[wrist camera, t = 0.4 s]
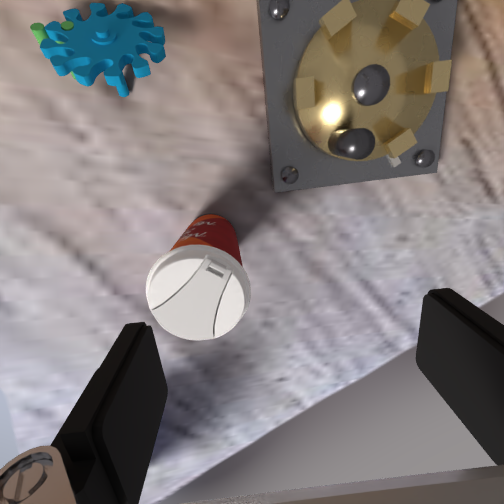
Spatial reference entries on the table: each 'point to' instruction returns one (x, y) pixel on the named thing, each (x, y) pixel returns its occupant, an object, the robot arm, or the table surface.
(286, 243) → the table surface
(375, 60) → the brass paddle wheel
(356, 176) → the base plate
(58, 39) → the gear
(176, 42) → the table surface
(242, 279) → the coffee cup
